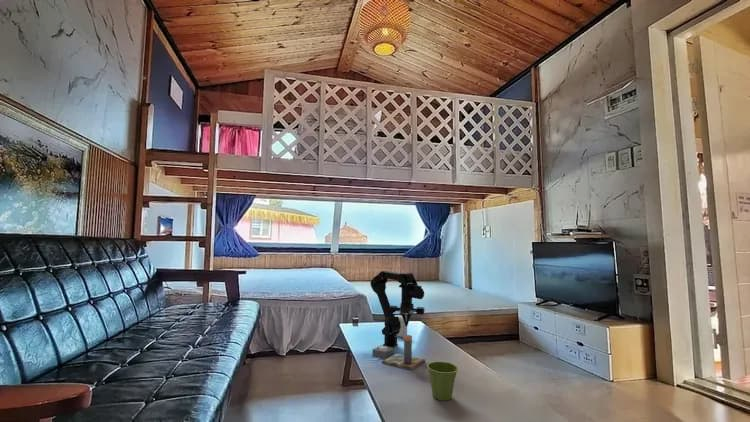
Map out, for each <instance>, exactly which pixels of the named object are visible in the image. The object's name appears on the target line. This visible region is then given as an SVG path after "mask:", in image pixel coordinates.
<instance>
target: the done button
mask: <svg viewBox="0 0 750 422" xmlns="http://www.w3.org/2000/svg"><path fill="white" fill-rule="evenodd" d="M379 346H380V347H379ZM379 346H378V347H379V350H383V351H386V350H388V346H383V345H379Z"/></svg>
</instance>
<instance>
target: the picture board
mask: <svg viewBox="0 0 750 422" xmlns="http://www.w3.org/2000/svg"><path fill="white" fill-rule="evenodd" d="M425 362H426V359H424V358H420V357H415V356H412V364H410V365H407V364H404V354H402V353H394V354H393V355H391V356H390V357H388V358H384V359H383V360H382V361H381V364H383V363H384V365H388V366H393V367H397V368H401V369H404V370H405V369H406V370H409V371H413V370H415V369H416V368H418V367H419V366H421V365H422V364H424V363H425Z"/></svg>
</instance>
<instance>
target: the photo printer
mask: <svg viewBox="0 0 750 422" xmlns="http://www.w3.org/2000/svg"><path fill="white" fill-rule="evenodd" d="M394 316H395V317H397V316H398V318H399V321H400V324H401V328H400V331H399V334H397V337H399V338H403V339H404V335H408V326H405V323H404V320H403V317H402V315H400V314H398V315H397V314H395V315H394Z"/></svg>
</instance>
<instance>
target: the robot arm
mask: <svg viewBox="0 0 750 422" xmlns="http://www.w3.org/2000/svg"><path fill="white" fill-rule="evenodd" d="M388 280H393V281H397V282H398V283H400V284H399V285H398V287H399V288H400V289H401V295H400V296H401V301H400V304H399V305H400V307H398V305H391V303H390V301H389V299H388V296H387V293H386V289H387V286H386V284H387V282H388ZM370 288H371V290H372V291H373V292H374V293H375V294H376V295H377V298H378V301H379V304H380V306H381V310H382V312H383V313H382V314H383V316H384V322H383V324H384V327H383V328H382V330H381V334H382V335H383V336H384V337H383V339H384V342H383V344H382V346H386V347H391V348H395V347H396V346H398V345H399V343H398V336H397V334H399V331H400V328H401V324H400V321H399V318H398V316H397V317H395V315H394V313H396V312H399V313H398V315H401V316H402V317H403V320H404V323H405V326H407V327H408V325H409V321H410V319H411V316H413V315H414V314H415V313H416V314H417V315H425V307H423V306H416V308H415V305H414V303H413V299H417V300H422V299H424V296H425V291H424V288H423V287H422V285H419V284H418V282H417V280H416V278H415V277H414V274H413V273H411V272H405V273H402V272H395V271H388V270H381V271H380V272H379V273H378V274H377V275H375V276H374V277H373V278H372V279H371V281H370Z"/></svg>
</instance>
